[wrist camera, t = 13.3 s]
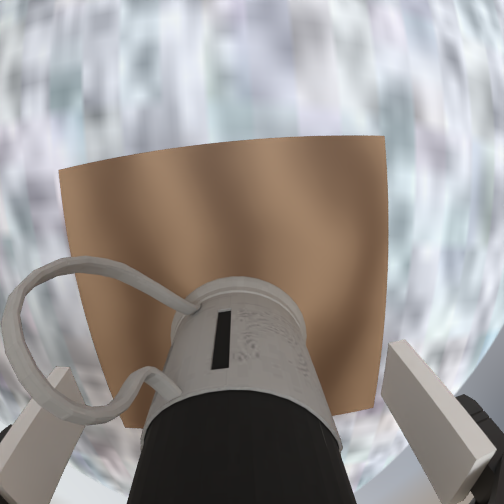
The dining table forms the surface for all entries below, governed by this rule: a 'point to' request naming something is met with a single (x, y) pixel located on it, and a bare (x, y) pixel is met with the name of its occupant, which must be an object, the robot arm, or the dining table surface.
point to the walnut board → (238, 248)
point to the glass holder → (211, 395)
